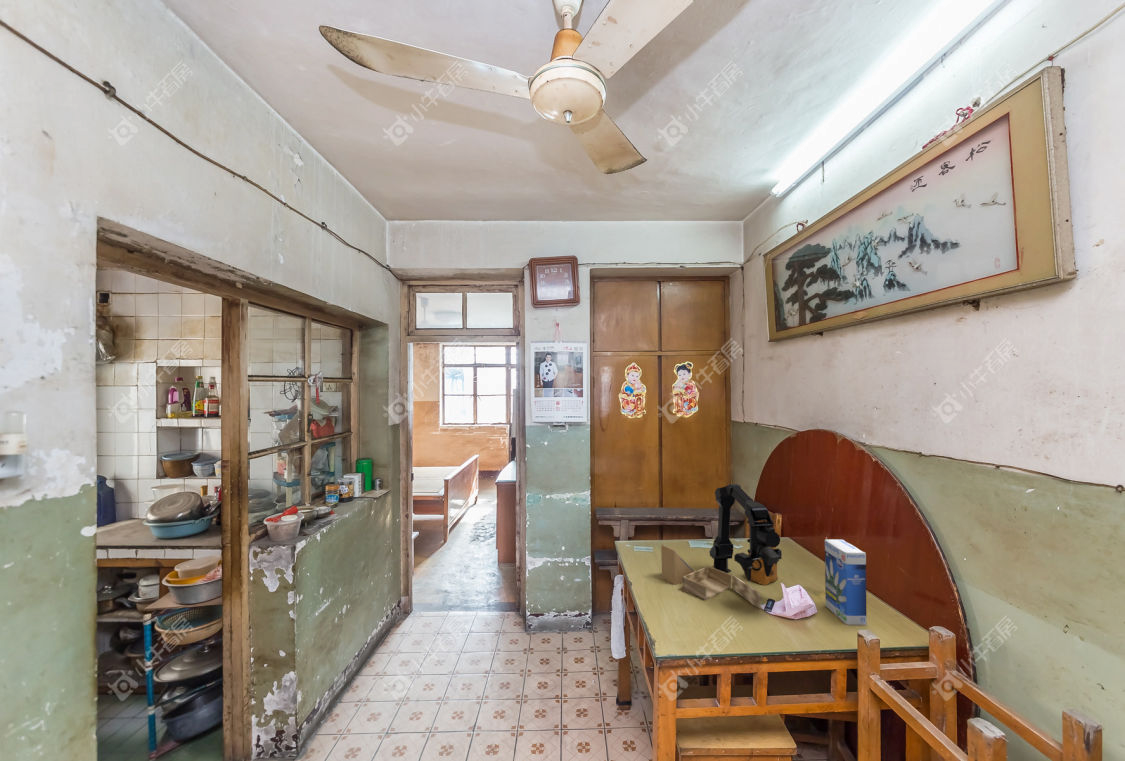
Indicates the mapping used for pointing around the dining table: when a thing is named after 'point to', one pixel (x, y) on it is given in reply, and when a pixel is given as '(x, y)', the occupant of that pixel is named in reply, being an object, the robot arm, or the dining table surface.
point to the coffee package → (762, 572)
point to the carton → (706, 582)
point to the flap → (746, 591)
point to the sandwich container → (673, 566)
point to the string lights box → (845, 581)
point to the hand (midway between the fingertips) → (758, 578)
